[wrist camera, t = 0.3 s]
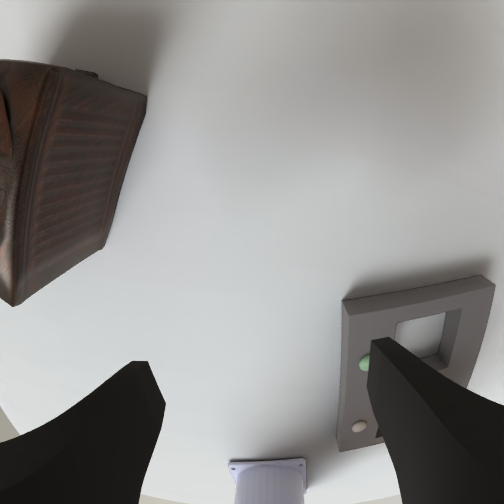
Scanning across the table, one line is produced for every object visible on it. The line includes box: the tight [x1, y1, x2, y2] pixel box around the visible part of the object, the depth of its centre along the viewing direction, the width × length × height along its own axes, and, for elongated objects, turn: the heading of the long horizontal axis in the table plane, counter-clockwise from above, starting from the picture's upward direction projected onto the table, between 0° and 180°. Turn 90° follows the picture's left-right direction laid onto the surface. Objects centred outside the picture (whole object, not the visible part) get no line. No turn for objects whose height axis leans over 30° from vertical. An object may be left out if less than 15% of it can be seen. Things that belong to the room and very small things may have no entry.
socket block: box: [336, 275, 495, 452], centre depth 19 cm, size 15×12×2 cm
